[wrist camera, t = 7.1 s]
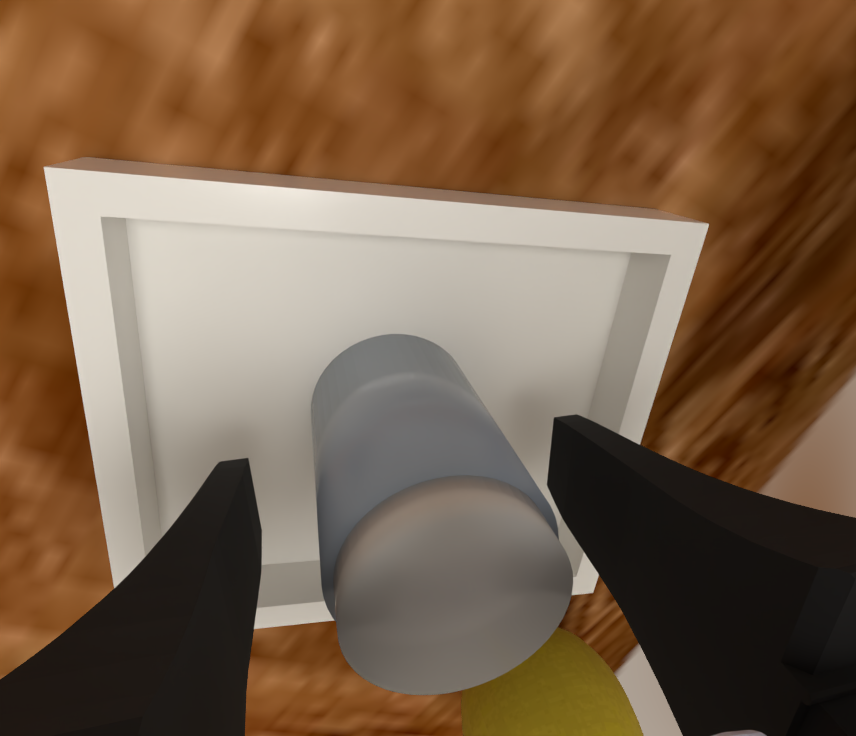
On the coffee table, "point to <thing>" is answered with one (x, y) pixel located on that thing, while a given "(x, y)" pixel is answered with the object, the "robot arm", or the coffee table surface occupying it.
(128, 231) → the tray
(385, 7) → the coffee table surface
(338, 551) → the cylinder
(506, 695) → the lemon
